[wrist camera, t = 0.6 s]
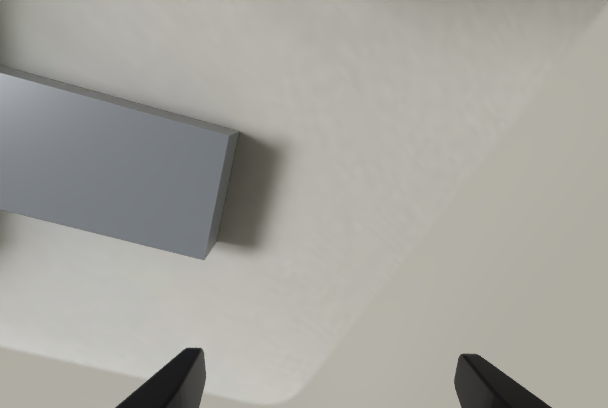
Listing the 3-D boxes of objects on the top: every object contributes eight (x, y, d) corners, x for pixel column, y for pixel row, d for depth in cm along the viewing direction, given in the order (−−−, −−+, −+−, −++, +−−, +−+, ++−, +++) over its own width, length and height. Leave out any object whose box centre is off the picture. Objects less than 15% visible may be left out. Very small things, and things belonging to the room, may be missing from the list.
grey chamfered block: (239, 131, 18) (229, 135, 16) (216, 241, 20) (204, 260, 18) (-56, 49, 17) (-114, 41, 15) (-49, 174, 19) (-99, 184, 17)
